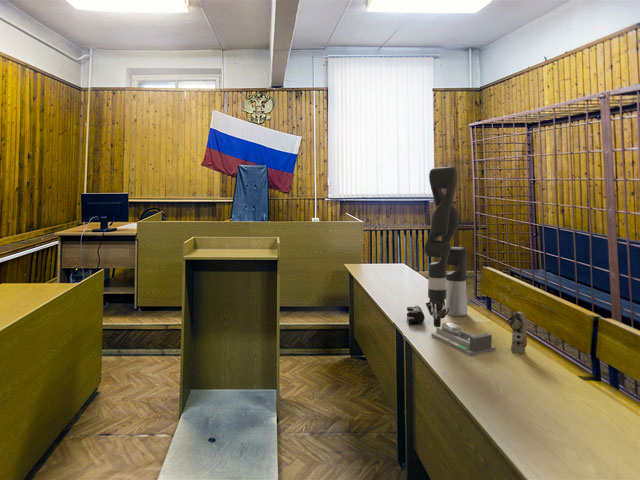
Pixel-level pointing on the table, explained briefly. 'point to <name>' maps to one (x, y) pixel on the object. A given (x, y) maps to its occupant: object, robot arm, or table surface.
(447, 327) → the grey textured block
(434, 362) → the table surface
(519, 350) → the grenade model
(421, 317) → the end cap
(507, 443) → the table surface
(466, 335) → the gauge board
